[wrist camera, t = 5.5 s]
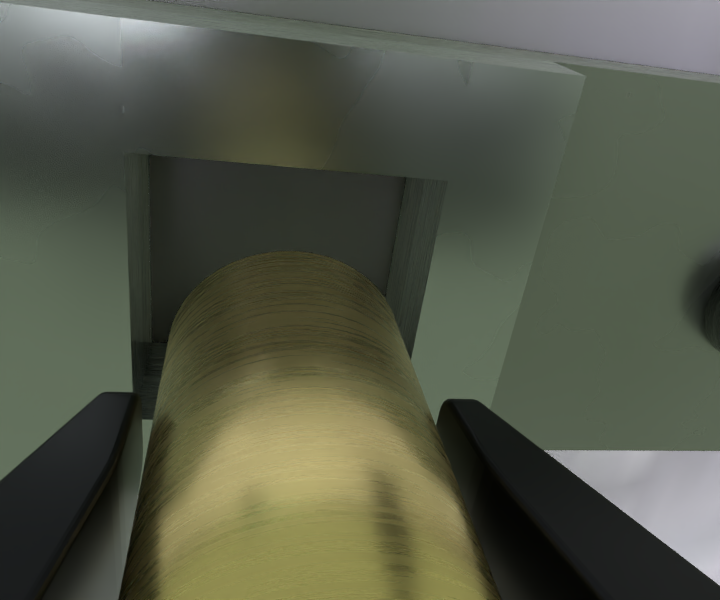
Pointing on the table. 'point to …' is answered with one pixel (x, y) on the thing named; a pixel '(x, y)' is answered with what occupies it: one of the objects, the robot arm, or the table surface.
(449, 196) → the plate with square hole
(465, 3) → the table surface
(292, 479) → the brass pin
